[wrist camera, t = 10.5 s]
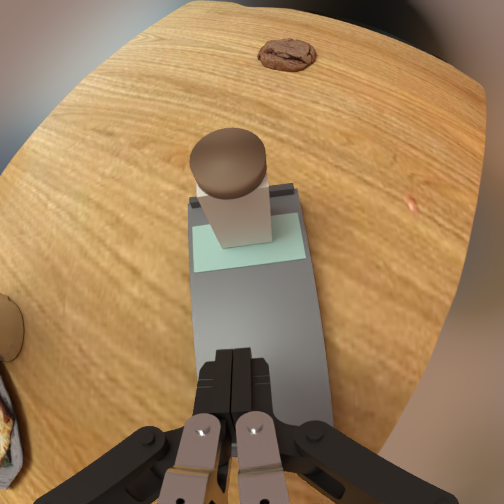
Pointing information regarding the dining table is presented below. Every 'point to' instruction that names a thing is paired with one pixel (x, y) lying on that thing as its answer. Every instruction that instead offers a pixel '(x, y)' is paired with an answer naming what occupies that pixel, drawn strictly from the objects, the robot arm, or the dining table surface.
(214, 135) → the brown piece
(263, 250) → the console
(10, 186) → the dining table surface
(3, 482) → the food plate
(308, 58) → the cookie
